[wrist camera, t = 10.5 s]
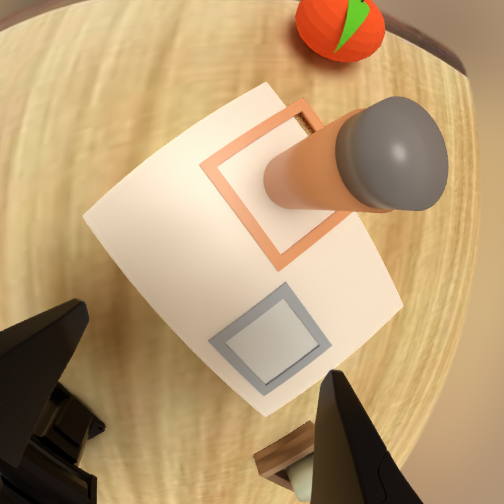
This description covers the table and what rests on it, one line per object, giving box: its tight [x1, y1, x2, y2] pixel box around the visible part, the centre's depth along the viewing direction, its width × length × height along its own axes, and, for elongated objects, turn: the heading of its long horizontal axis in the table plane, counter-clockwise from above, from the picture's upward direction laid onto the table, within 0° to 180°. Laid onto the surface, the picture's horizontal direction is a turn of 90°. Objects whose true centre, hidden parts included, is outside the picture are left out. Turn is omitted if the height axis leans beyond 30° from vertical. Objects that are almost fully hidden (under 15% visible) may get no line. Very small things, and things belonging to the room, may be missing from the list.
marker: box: [264, 97, 448, 213], centre depth 13 cm, size 4×4×12 cm
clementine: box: [295, 0, 385, 62], centre depth 15 cm, size 8×7×7 cm
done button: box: [286, 454, 314, 502], centre depth 20 cm, size 4×4×4 cm
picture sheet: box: [82, 82, 403, 418], centre depth 20 cm, size 18×22×1 cm
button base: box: [254, 421, 315, 492], centre depth 23 cm, size 7×7×3 cm
